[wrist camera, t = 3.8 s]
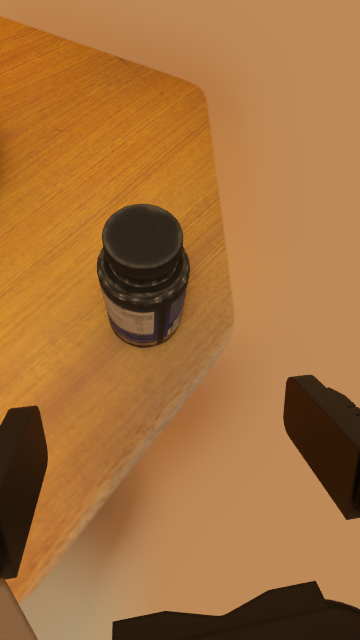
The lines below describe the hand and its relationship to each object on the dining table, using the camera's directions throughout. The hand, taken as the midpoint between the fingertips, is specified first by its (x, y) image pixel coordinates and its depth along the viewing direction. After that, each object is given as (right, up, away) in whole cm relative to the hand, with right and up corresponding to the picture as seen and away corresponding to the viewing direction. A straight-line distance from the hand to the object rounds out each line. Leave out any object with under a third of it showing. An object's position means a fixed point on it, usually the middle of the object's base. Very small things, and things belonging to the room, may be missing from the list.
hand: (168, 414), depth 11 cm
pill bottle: (-3, +3, +19) cm, 19 cm away
